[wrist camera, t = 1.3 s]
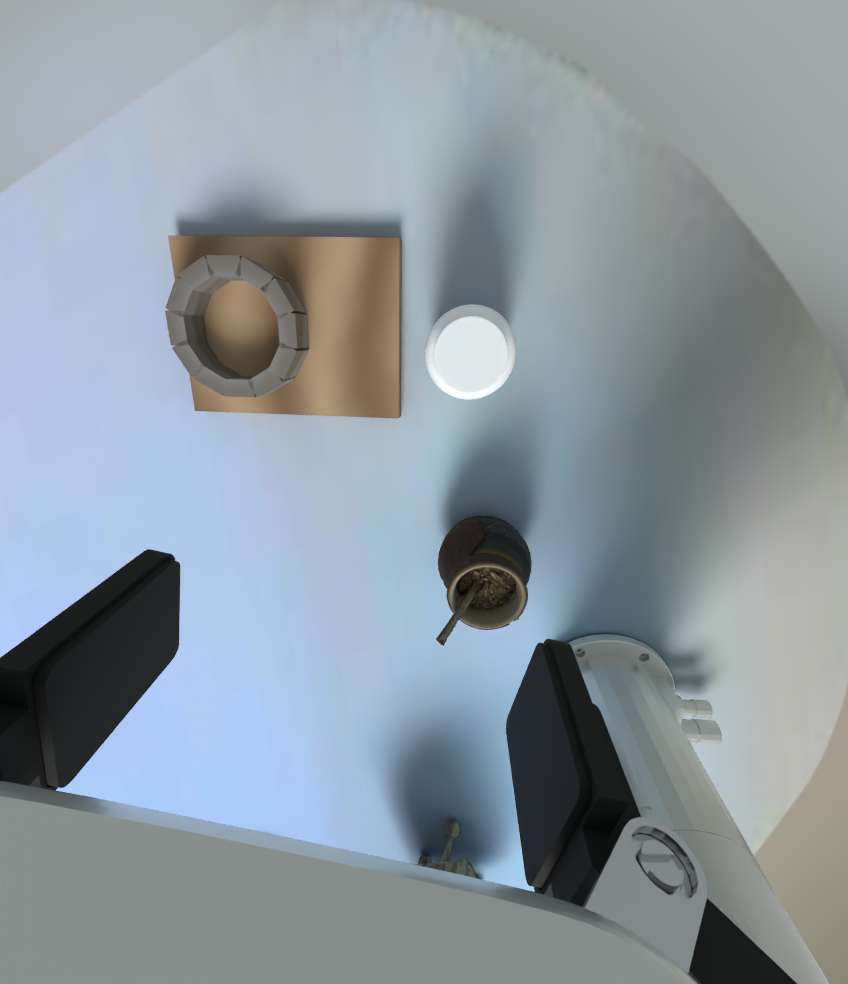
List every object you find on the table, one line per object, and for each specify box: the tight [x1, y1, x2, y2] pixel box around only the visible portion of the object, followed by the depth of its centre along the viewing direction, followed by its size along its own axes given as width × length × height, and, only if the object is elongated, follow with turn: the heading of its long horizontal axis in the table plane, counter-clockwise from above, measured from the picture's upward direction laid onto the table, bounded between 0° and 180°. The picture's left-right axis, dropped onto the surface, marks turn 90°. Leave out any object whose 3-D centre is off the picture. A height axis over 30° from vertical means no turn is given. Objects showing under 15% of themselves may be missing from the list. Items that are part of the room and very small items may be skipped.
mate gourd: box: [436, 516, 531, 646], centre depth 33 cm, size 7×8×10 cm
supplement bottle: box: [425, 304, 516, 399], centre depth 27 cm, size 5×5×10 cm
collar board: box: [165, 236, 402, 418], centre depth 31 cm, size 16×12×4 cm
